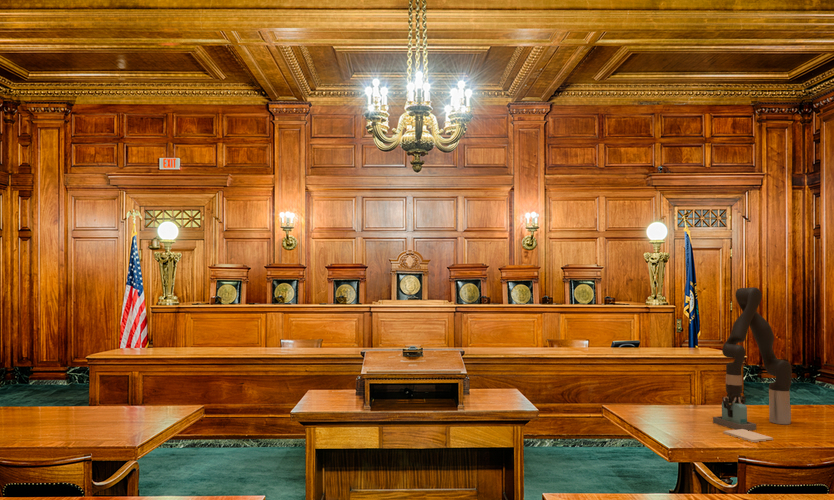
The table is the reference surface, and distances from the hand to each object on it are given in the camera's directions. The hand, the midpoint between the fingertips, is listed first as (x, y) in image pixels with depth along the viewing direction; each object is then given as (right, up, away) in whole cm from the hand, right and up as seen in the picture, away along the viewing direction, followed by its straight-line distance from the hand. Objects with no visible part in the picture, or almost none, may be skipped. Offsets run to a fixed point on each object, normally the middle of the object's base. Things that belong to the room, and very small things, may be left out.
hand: (734, 416), depth 292 cm
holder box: (0, -5, 0) cm, 5 cm away
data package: (0, -5, 0) cm, 5 cm away
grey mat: (-5, -4, -20) cm, 21 cm away
